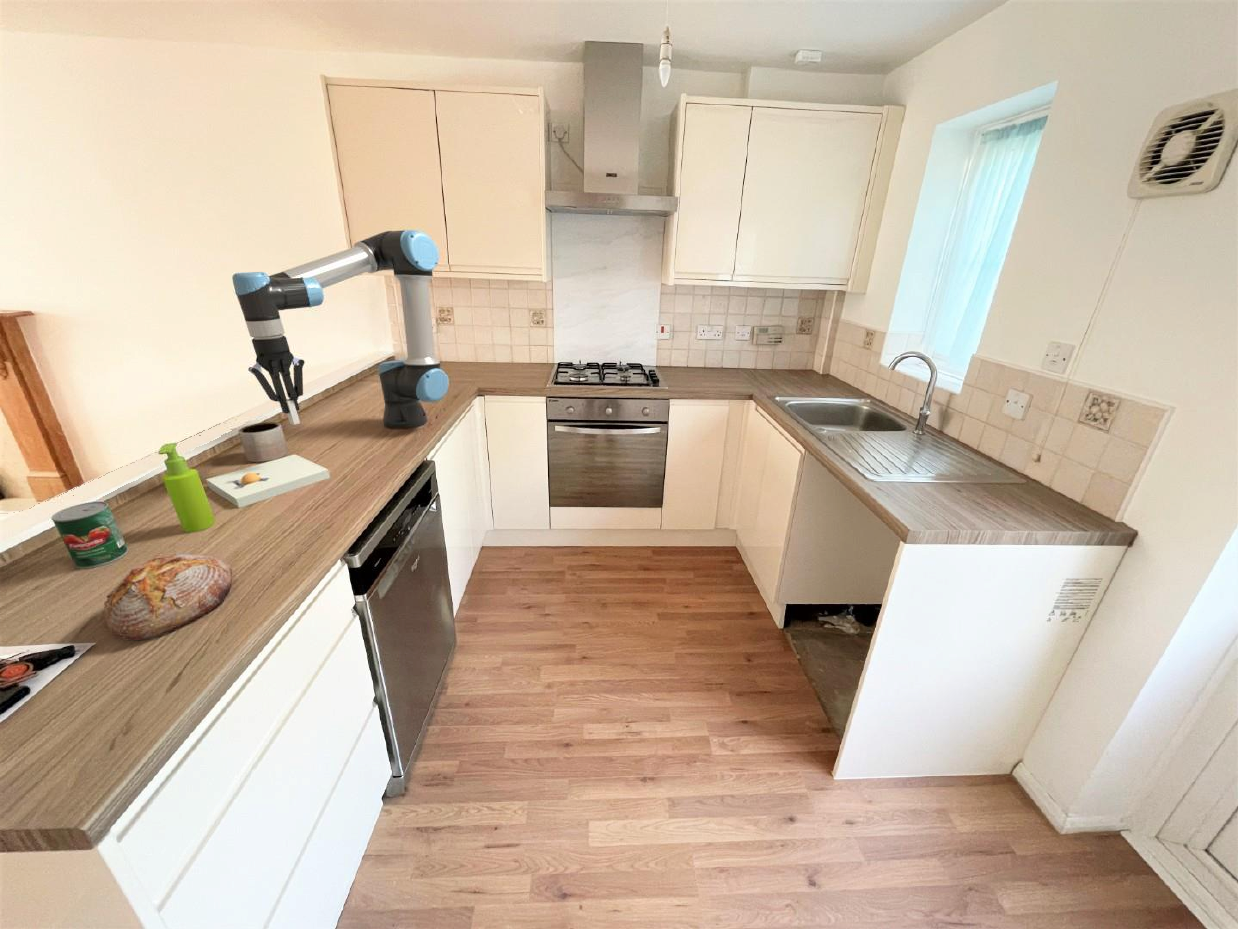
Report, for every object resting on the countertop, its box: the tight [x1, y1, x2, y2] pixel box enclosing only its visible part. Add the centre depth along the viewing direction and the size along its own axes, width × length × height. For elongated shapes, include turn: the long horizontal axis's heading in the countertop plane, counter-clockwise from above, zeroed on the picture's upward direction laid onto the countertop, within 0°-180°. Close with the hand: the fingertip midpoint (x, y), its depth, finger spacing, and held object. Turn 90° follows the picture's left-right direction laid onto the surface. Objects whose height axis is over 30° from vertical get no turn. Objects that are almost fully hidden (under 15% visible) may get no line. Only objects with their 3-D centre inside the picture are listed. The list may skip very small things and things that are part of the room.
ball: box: [242, 473, 260, 485], centre depth 130 cm, size 4×4×4 cm
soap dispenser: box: [157, 442, 217, 533], centre depth 109 cm, size 6×7×20 cm
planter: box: [237, 421, 290, 464], centre depth 151 cm, size 11×11×10 cm
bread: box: [103, 552, 233, 641], centre depth 86 cm, size 16×20×10 cm
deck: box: [205, 453, 331, 509], centre depth 134 cm, size 22×20×2 cm
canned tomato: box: [50, 501, 129, 570], centre depth 99 cm, size 8×8×11 cm
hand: (295, 422), depth 136 cm, fingers closed
